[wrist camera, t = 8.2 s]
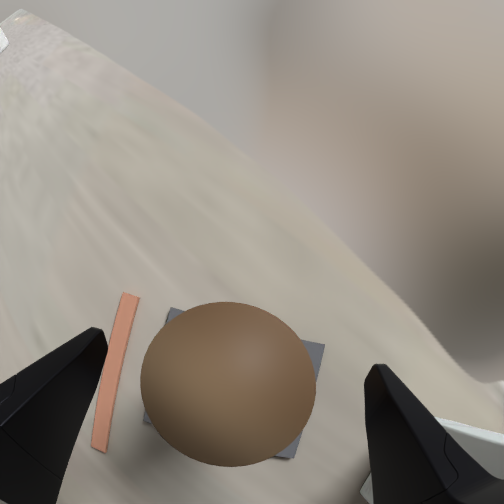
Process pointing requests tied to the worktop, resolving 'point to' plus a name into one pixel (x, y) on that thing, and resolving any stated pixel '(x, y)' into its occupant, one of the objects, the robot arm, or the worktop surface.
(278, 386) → the pin
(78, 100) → the worktop surface
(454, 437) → the supplement box
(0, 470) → the robot arm
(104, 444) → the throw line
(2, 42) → the eye dropper bottle
